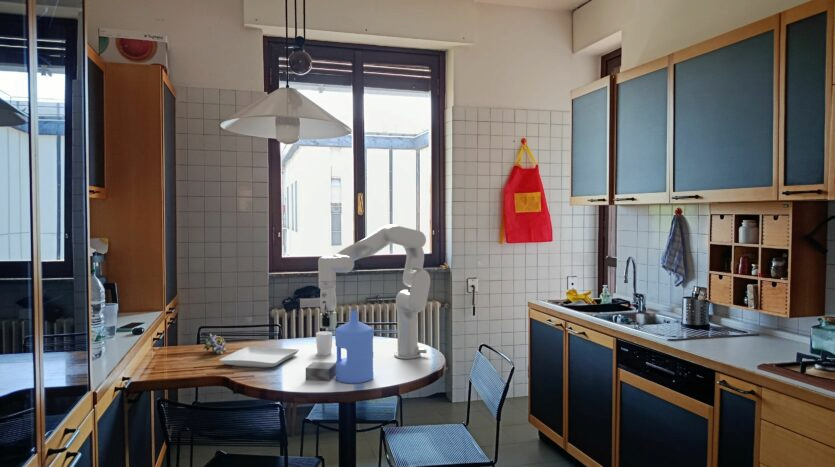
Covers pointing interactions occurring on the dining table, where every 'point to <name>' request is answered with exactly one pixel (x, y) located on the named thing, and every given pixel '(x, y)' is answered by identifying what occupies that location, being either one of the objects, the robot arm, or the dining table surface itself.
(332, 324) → the sage cube
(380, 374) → the dining table surface
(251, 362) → the square plate
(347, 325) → the water jug
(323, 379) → the block
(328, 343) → the white cup
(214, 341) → the passion flower
